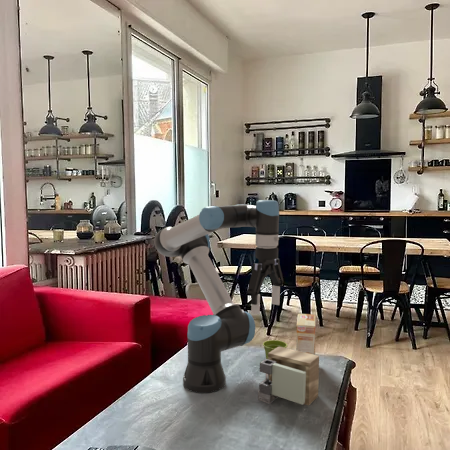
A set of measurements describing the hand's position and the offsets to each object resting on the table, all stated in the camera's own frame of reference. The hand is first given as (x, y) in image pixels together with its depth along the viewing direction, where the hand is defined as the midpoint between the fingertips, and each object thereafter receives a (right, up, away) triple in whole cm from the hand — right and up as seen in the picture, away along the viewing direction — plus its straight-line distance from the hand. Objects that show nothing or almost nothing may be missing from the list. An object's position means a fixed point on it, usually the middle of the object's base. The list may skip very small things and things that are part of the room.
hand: (265, 309), depth 153 cm
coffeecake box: (+17, -27, +20) cm, 38 cm away
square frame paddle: (+5, -26, -8) cm, 28 cm away
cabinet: (+7, -29, -3) cm, 30 cm away
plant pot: (+6, -27, +23) cm, 36 cm away
